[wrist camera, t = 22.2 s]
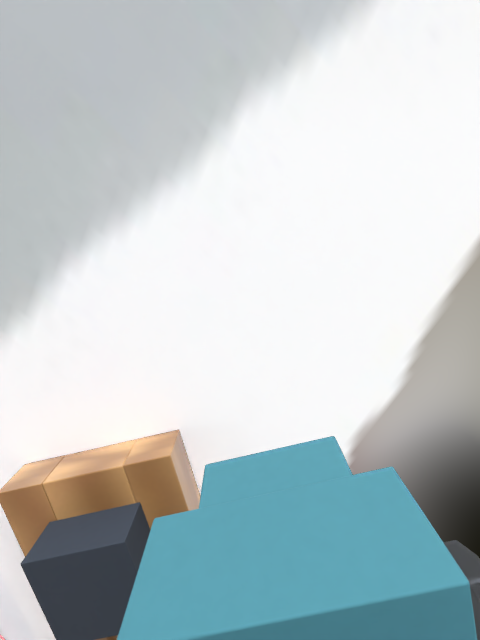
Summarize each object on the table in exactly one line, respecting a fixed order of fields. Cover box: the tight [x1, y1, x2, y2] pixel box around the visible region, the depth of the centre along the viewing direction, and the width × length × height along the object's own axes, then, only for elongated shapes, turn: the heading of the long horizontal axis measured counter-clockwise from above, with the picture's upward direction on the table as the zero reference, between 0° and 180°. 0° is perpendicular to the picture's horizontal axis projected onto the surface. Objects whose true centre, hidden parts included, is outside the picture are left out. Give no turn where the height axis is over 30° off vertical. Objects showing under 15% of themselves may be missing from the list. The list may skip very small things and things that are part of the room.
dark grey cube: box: [21, 502, 150, 640], centre depth 23 cm, size 6×6×6 cm
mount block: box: [0, 430, 200, 640], centre depth 25 cm, size 11×19×3 cm, turn 14°
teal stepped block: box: [117, 436, 477, 640], centre depth 9 cm, size 6×6×6 cm
